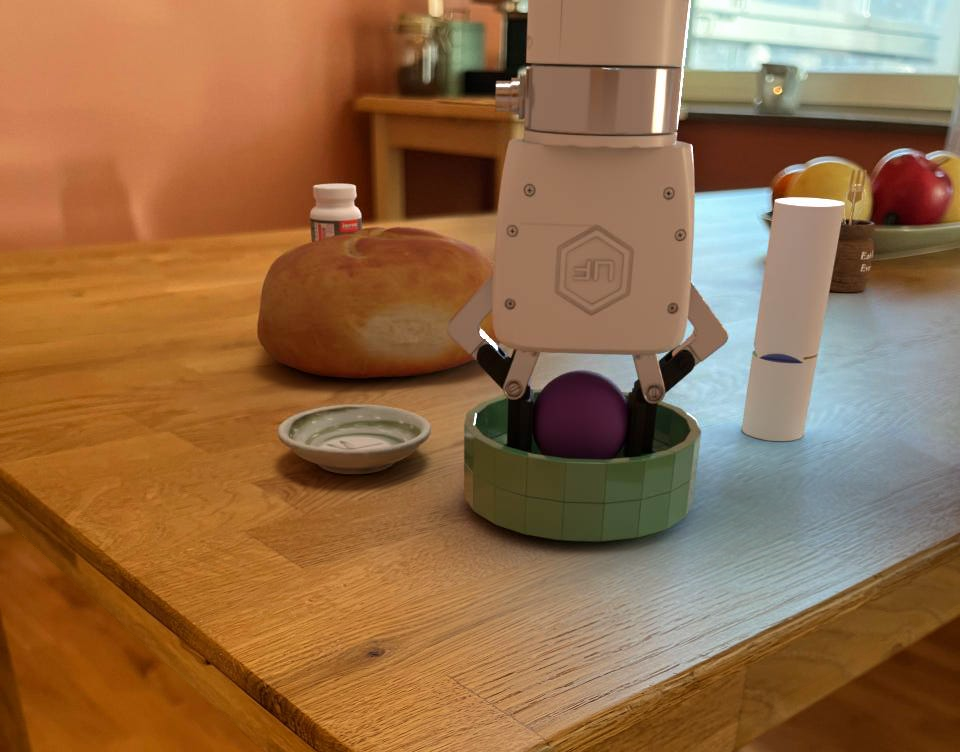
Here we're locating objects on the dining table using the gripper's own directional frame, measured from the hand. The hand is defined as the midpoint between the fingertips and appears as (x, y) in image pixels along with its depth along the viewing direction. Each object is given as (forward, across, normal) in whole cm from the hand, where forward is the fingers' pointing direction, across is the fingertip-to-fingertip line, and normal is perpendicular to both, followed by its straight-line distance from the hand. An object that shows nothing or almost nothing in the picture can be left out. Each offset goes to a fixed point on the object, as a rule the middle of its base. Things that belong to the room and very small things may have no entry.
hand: (577, 459), depth 59 cm
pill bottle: (+3, -25, +64) cm, 69 cm away
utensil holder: (+3, +32, +66) cm, 73 cm away
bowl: (+3, 0, 0) cm, 3 cm away
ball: (-2, 0, 0) cm, 2 cm away
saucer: (+3, -14, +6) cm, 15 cm away
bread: (+3, -16, +33) cm, 37 cm away
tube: (+3, +14, +14) cm, 21 cm away
